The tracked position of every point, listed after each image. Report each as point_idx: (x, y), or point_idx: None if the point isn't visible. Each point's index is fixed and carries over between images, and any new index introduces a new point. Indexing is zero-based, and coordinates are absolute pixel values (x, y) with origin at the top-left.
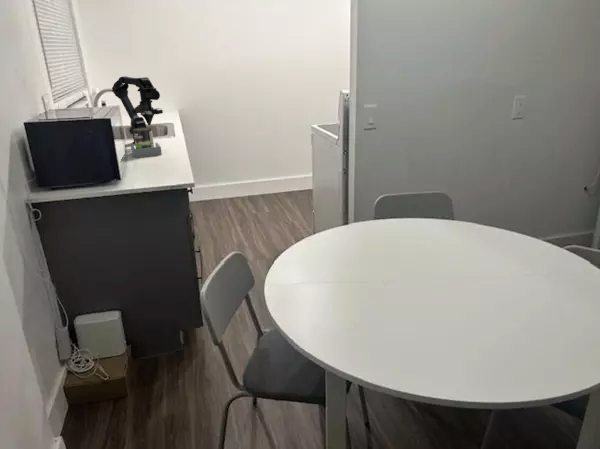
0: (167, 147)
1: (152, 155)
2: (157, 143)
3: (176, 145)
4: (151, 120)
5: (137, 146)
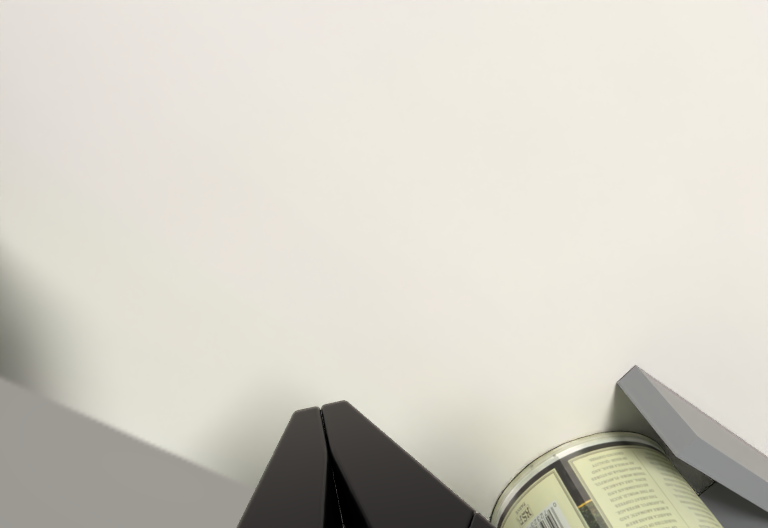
0: (672, 198)
1: None
2: (723, 459)
3: (754, 14)
4: (452, 509)
5: None
